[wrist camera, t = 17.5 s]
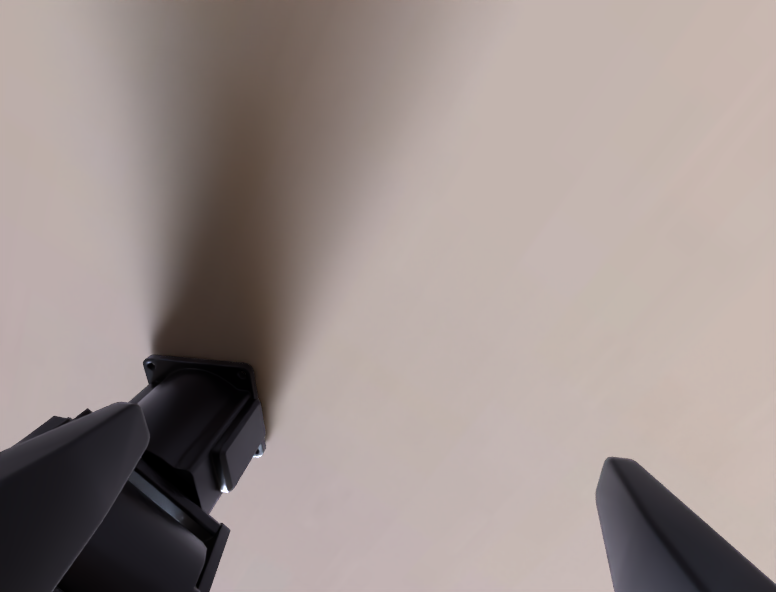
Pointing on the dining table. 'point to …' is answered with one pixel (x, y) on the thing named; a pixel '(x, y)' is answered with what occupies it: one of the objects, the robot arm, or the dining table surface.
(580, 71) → the dining table surface
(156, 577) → the robot arm
